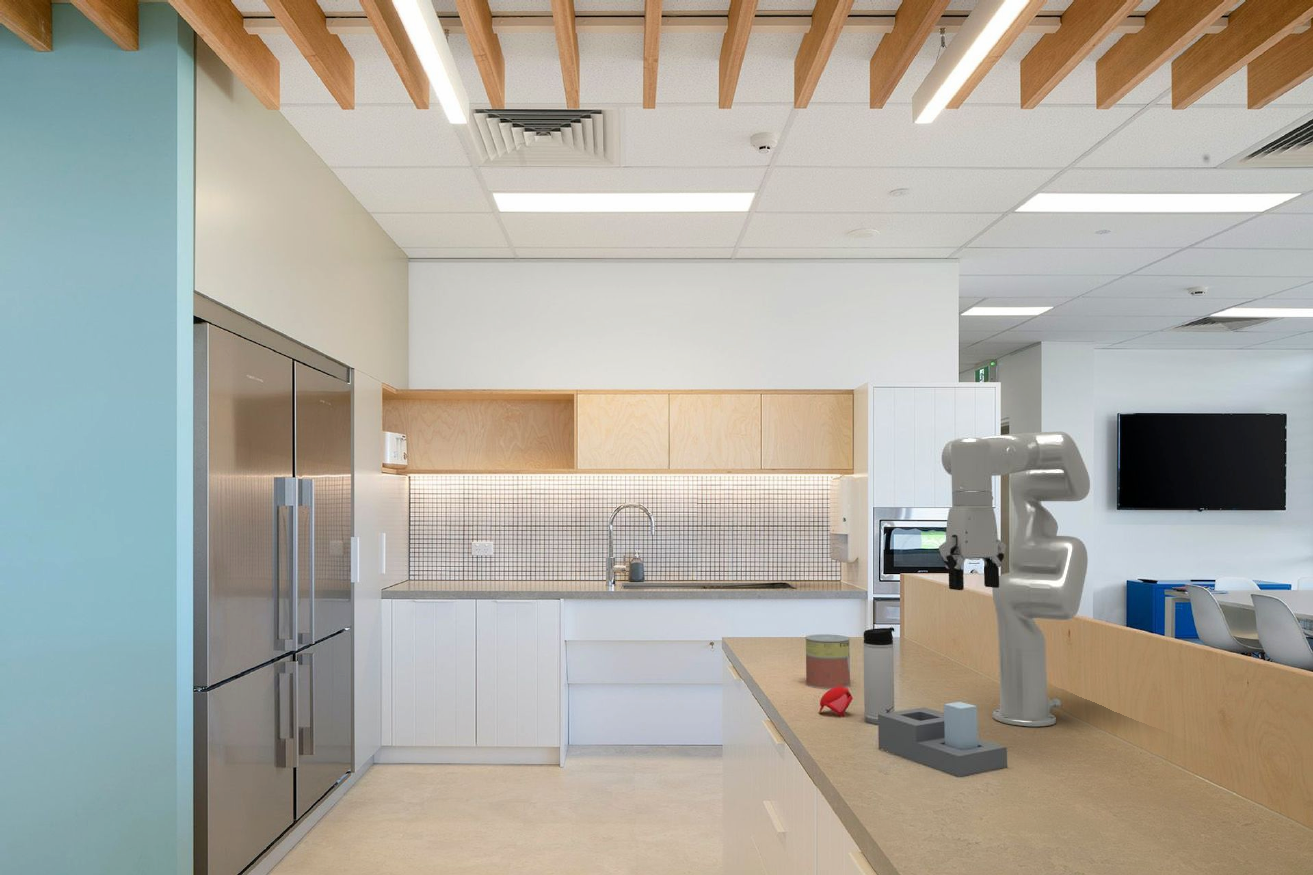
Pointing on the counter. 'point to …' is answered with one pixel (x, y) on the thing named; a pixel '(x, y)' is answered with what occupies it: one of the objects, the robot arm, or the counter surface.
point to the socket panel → (935, 743)
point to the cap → (836, 700)
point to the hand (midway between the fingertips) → (974, 588)
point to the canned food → (827, 661)
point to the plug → (960, 725)
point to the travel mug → (878, 673)
